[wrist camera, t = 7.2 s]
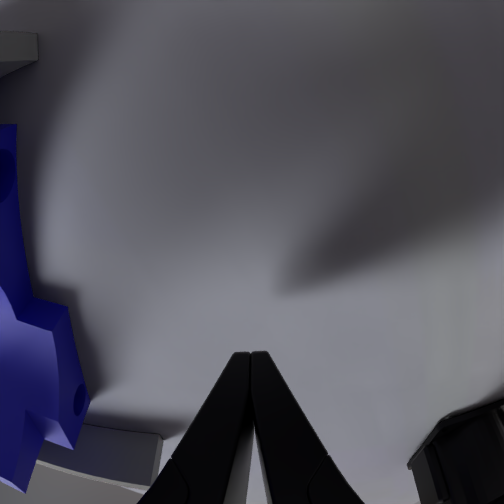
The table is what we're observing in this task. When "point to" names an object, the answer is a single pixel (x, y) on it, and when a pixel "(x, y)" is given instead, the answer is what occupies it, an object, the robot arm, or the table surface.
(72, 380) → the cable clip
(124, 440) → the grey u-shaped bracket
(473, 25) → the table surface
